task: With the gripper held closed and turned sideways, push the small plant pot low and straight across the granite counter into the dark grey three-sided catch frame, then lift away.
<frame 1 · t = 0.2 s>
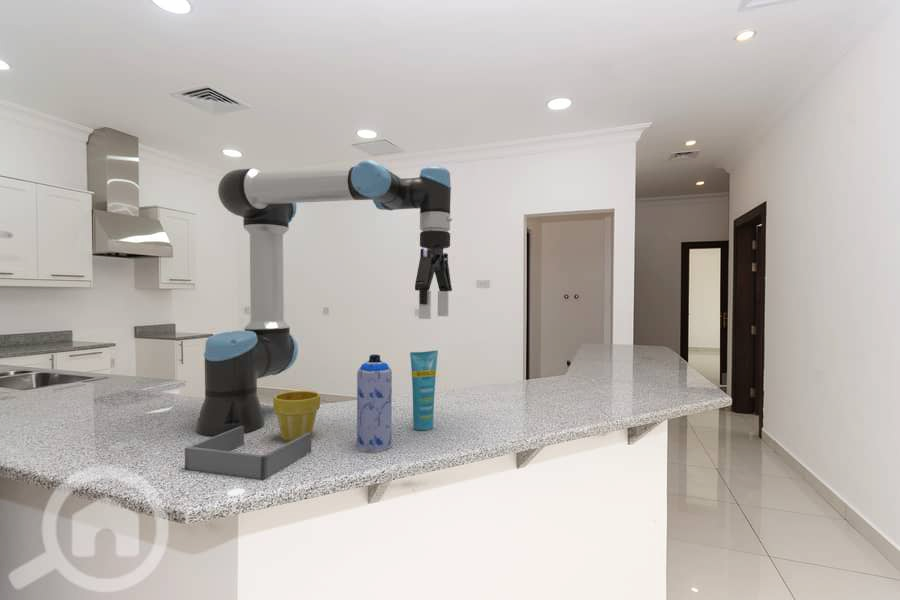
hand: (434, 317, 113), 28 cm above the countertop, fingers open, 13 cm apart
aerosol can: (374, 447, 100), on the countertop
tube: (423, 428, 114), on the countertop
catch frame: (251, 459, 91), on the countertop
plant pot: (297, 437, 106), on the countertop
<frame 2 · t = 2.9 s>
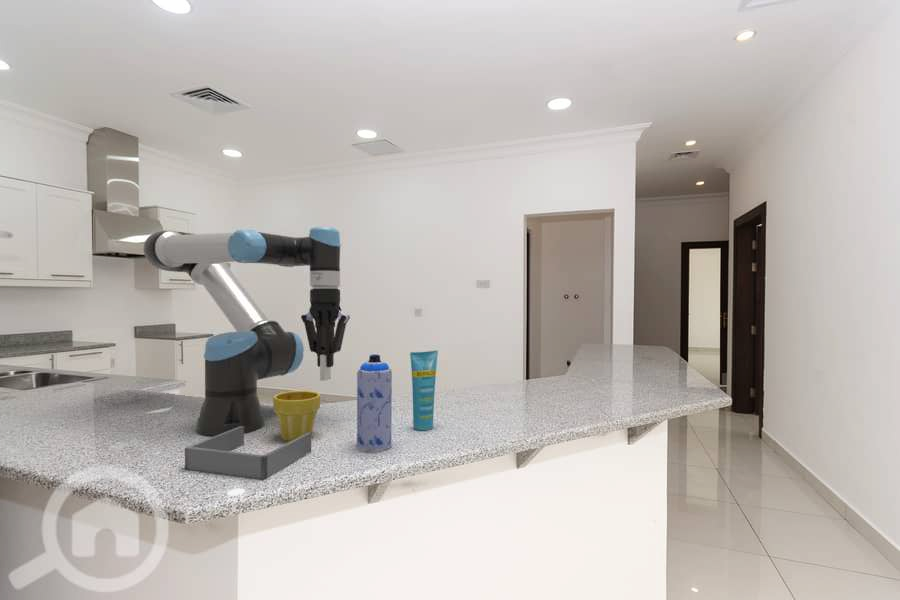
hand: (325, 379, 117), 11 cm above the countertop, fingers closed
nothing on the countertop moved.
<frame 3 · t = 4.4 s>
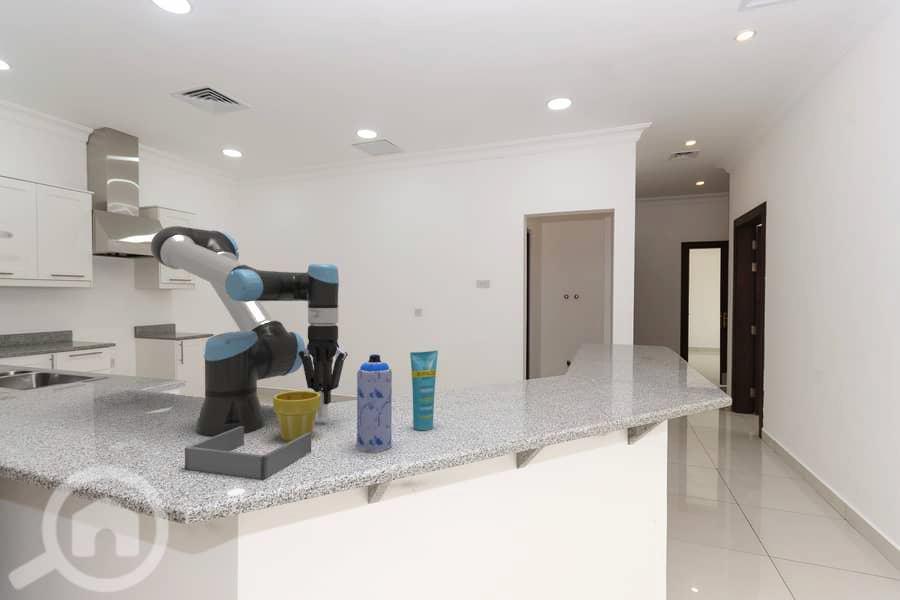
hand: (322, 416, 117), 2 cm above the countertop, fingers closed
nothing on the countertop moved.
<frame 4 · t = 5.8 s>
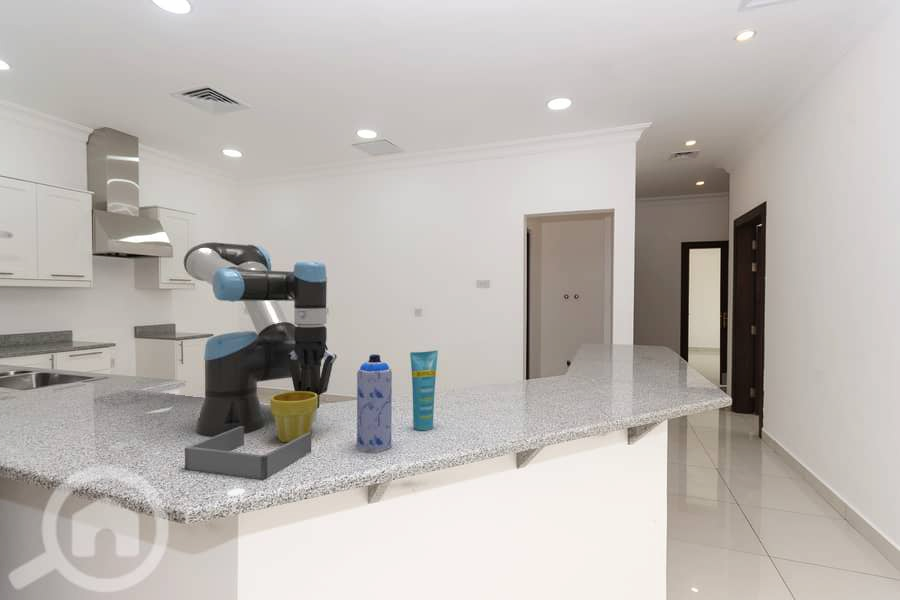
hand: (311, 421, 111), 2 cm above the countertop, fingers closed
plant pot: (294, 438, 105), on the countertop, touching gripper
everything else where it was.
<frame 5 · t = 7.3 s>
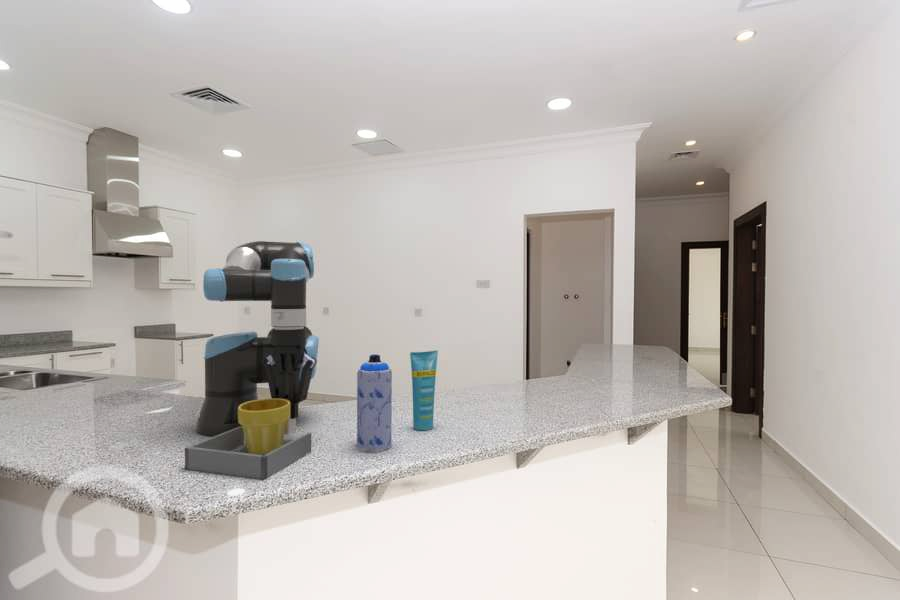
hand: (289, 432, 103), 2 cm above the countertop, fingers closed
plant pot: (265, 450, 97), on the countertop, touching gripper
everything else where it was.
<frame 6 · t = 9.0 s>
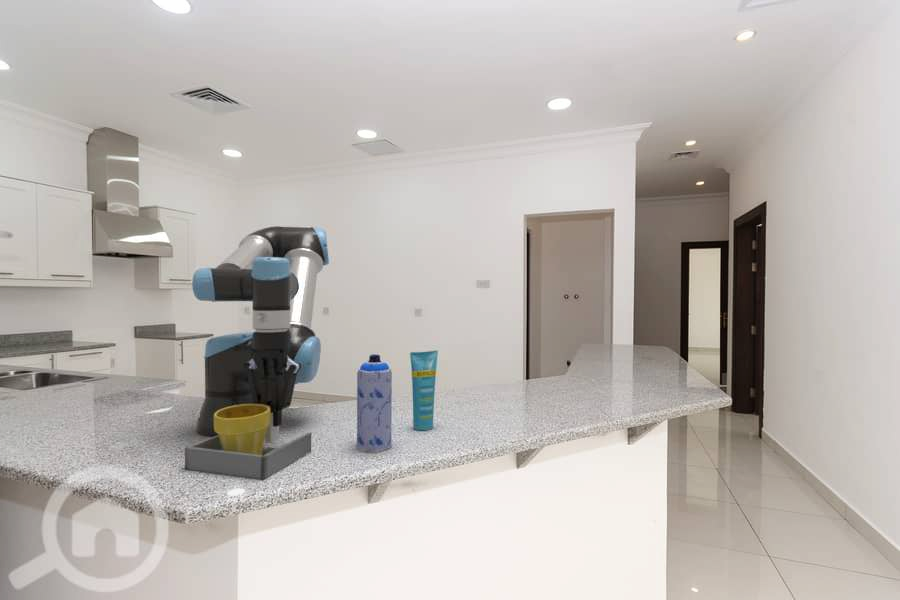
hand: (272, 440, 97), 2 cm above the countertop, fingers closed
plant pot: (244, 459, 92), on the countertop, touching gripper, hand
everything else where it was.
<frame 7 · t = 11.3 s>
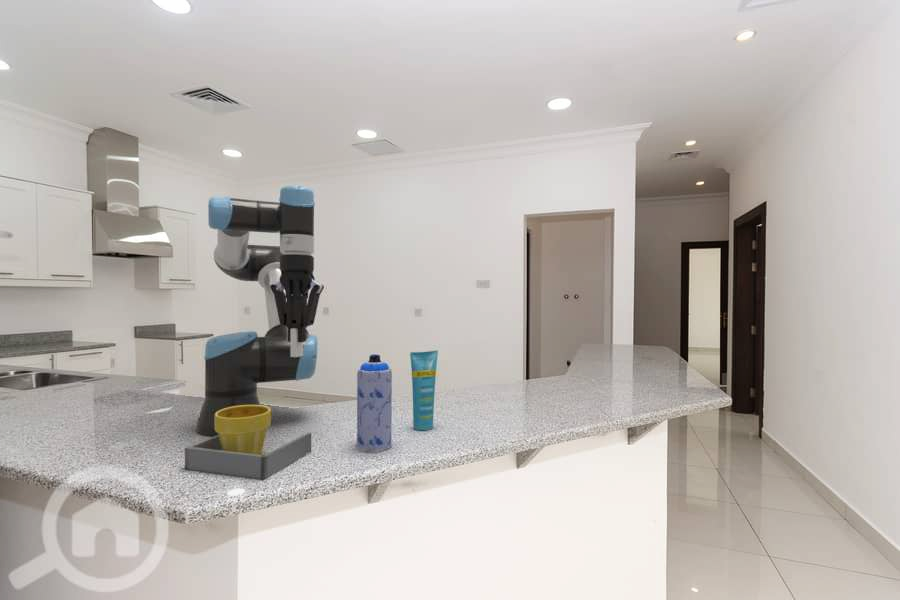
hand: (296, 356, 106), 19 cm above the countertop, fingers closed
plant pot: (243, 459, 92), on the countertop
everything else where it was.
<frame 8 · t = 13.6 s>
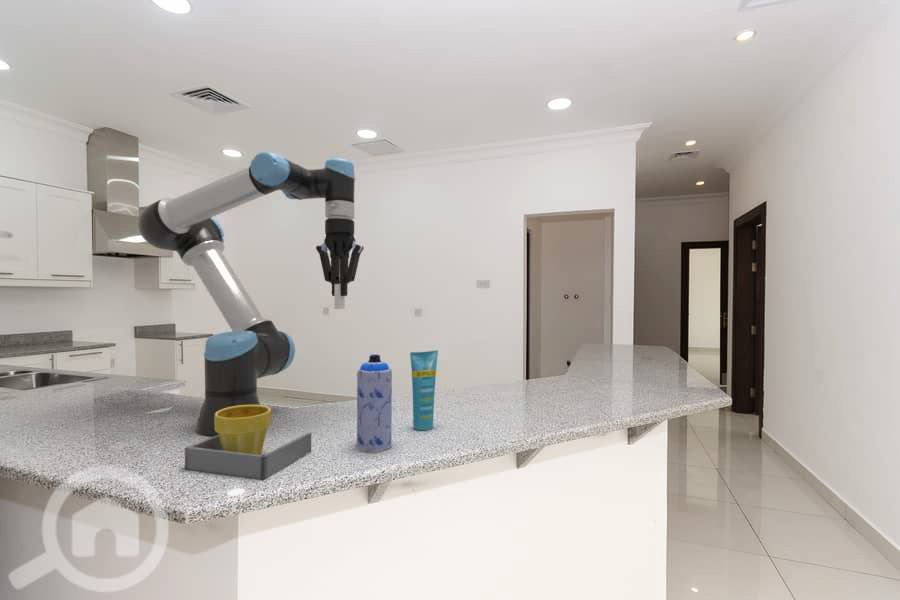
hand: (339, 308, 121), 29 cm above the countertop, fingers closed
nothing on the countertop moved.
at the end: plant pot inside the target area (2.0 cm from its centre), on the countertop; plant pot tilted 0° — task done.
